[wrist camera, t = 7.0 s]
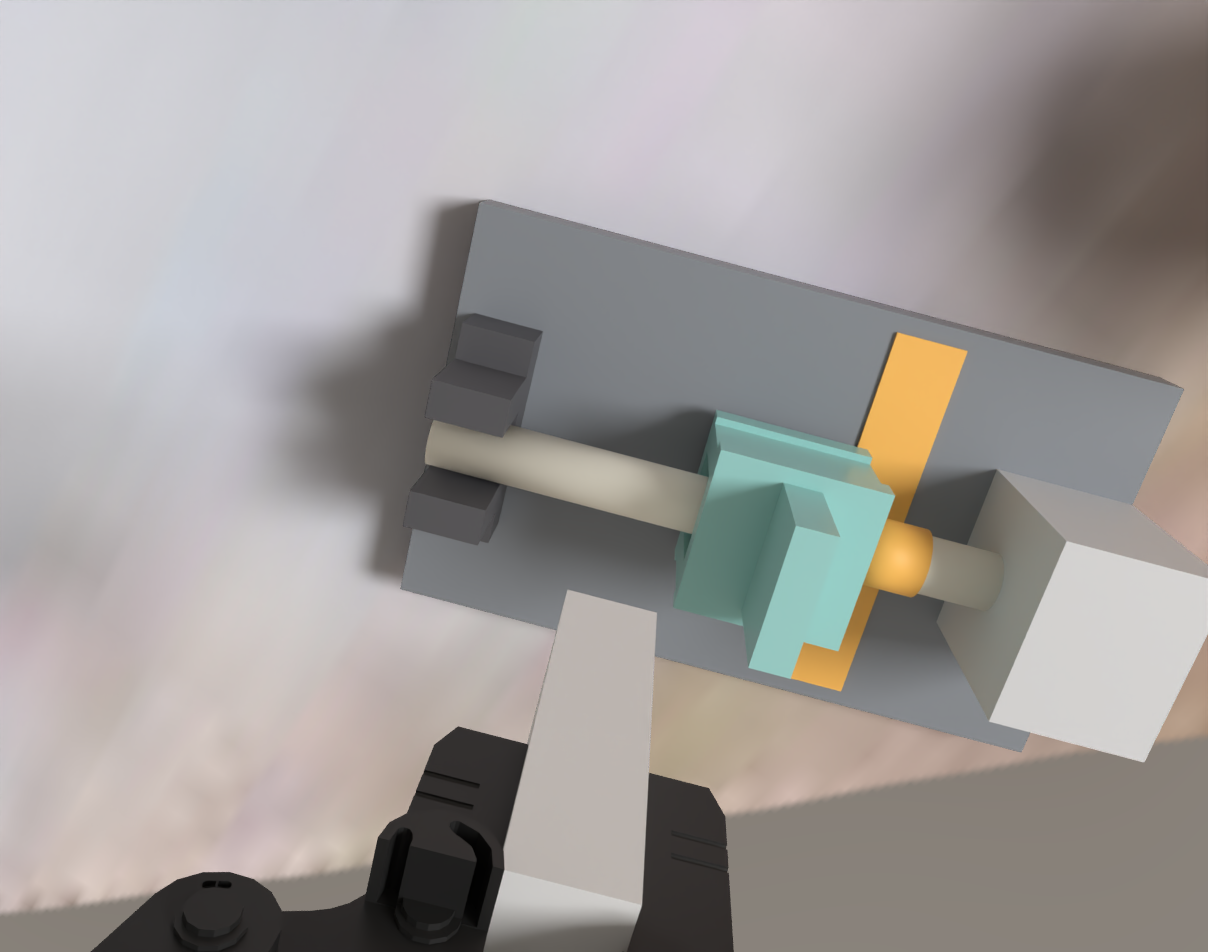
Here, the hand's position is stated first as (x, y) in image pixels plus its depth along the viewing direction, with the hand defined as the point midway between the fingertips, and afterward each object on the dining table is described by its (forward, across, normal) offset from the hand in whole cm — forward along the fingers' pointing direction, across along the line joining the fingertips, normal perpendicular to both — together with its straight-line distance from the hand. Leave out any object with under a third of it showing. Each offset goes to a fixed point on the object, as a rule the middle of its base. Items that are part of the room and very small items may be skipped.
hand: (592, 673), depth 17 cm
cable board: (+15, +4, -1) cm, 16 cm away
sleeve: (+13, +4, -1) cm, 14 cm away
